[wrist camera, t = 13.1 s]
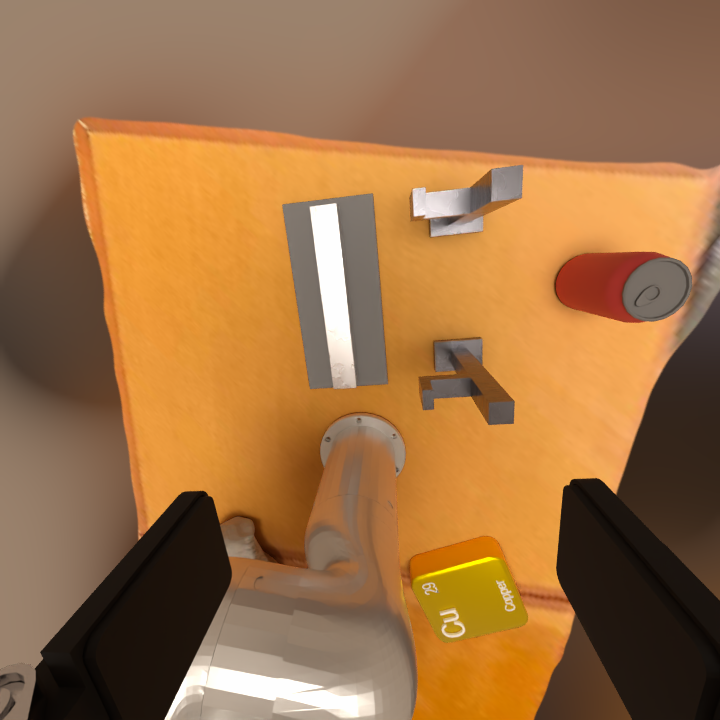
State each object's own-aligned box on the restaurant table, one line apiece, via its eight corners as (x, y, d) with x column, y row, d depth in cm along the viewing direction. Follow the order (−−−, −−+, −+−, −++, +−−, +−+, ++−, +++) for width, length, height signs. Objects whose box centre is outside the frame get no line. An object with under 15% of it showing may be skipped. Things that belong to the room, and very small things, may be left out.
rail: (358, 379, 46) (356, 387, 43) (337, 381, 46) (333, 389, 43) (339, 207, 40) (336, 203, 37) (315, 210, 40) (309, 206, 37)
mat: (387, 382, 46) (387, 383, 46) (310, 387, 47) (310, 388, 47) (372, 194, 39) (372, 193, 39) (283, 205, 41) (282, 204, 40)
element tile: (521, 599, 56) (533, 629, 51) (437, 619, 59) (441, 649, 54) (493, 531, 52) (503, 557, 48) (405, 556, 55) (406, 583, 51)
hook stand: (480, 366, 45) (538, 433, 27) (412, 370, 45) (428, 438, 28) (480, 195, 39) (555, 143, 21) (403, 204, 40) (415, 162, 22)
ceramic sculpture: (243, 549, 46) (274, 621, 51) (265, 502, 54) (289, 568, 59) (173, 555, 47) (210, 625, 52) (205, 508, 55) (234, 572, 60)
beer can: (542, 280, 41) (602, 289, 29) (589, 241, 39) (673, 233, 28) (573, 319, 42) (643, 342, 30) (621, 282, 40) (715, 291, 29)
